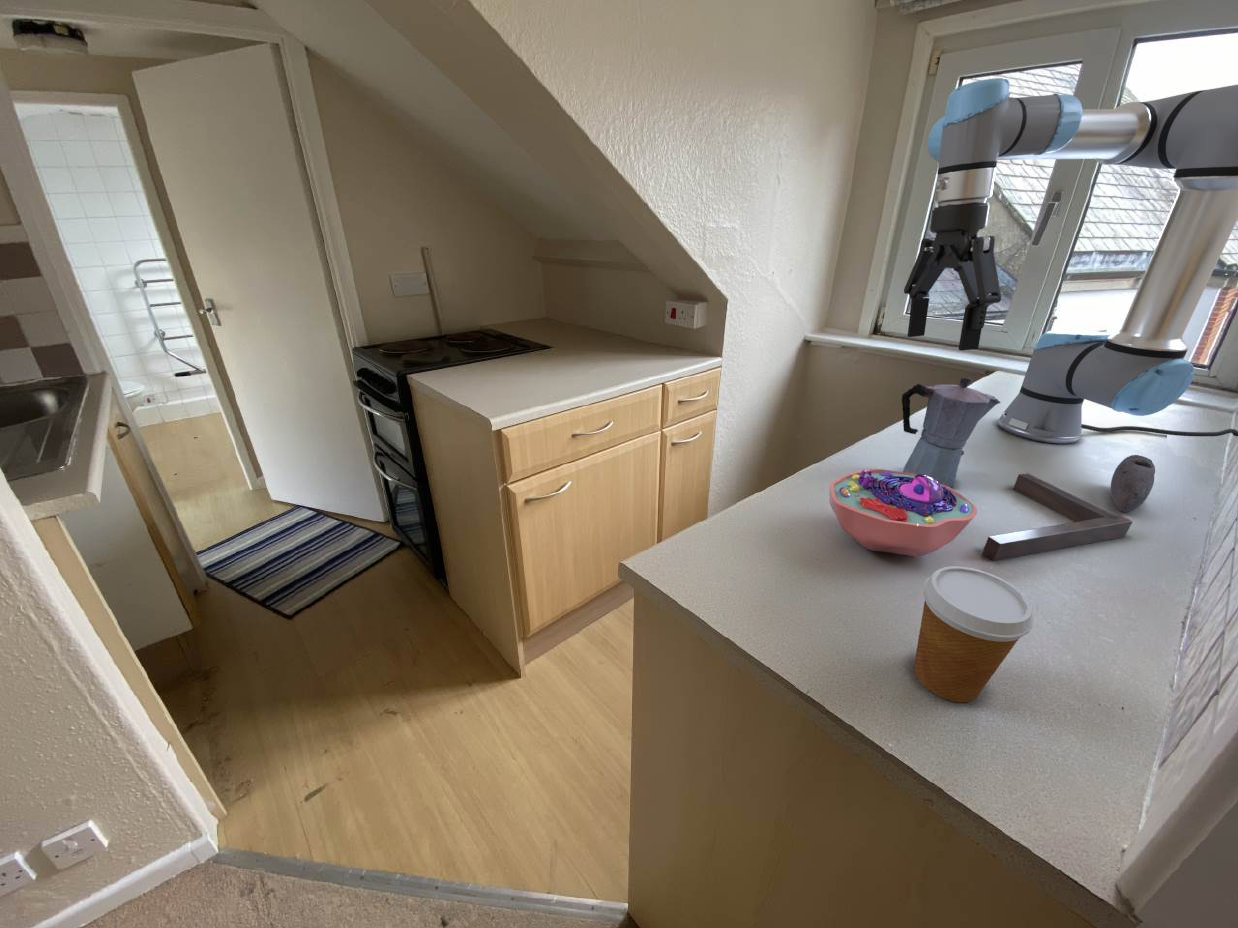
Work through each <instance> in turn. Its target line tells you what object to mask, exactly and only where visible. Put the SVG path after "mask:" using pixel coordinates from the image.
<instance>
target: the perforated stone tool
mask: <svg viewBox="0 0 1238 928" xmlns="http://www.w3.org/2000/svg"><path fill="white" fill-rule="evenodd" d="M1155 474H1156V467H1155V465H1154V463H1153V460H1152V459H1150V458H1149V457H1146V456H1143V455H1139V454H1132V455H1129V456H1127V457H1125V458H1124V459H1123V460H1122V461H1121V462H1119V464H1117V467H1116V468H1115V470H1114V471H1113V474H1112V476H1111V480H1110V494H1111V499H1112V501H1113V504H1114V506H1115V508H1116V509H1117V510H1119V511H1121V512H1126V513H1127V512H1132V511H1134V510H1136V509H1138V508H1139V507H1141V506H1142V505H1143V504H1144V503H1145V502H1146V500H1147V499H1148V497H1149V495H1150V494H1151V492H1152V489H1153V486H1154V484H1155Z"/></svg>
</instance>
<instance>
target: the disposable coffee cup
mask: <svg viewBox="0 0 1238 928" xmlns="http://www.w3.org/2000/svg"><path fill="white" fill-rule="evenodd" d="M922 593H923V599H924V602H923V607H922V615H921V621H920V627H919V633H918V639H917V645H916V652H915V659H914V664H913V671H914V674H915V676H916V678H917V680H918V681H919V682H920V684H922V686H924V687H925V688H926V689H927V690H928V691H930V692H931V693H933V694H934V695H936V696H937V697H940V698H942V699H944V700H948V701H950V702H955V703H970V702H972V701H974V700H976V699H977V698H978V697H979V694H980V693H981V692H982V691H983V689H984V688H985V686H986V685H987V684H988V683H989V681H990V680H991V678H993V676H994V674H995V673H996V671H997V670H998V669H999V667H1001V664H1002V663H1003V662H1004V660H1005V659H1006V657H1007V656H1008V655H1009V654H1010V652H1011V650H1012V649H1013V647H1014V646H1015V645H1016V643H1017V642H1018V641H1019V640H1020V639H1021V638H1022V637H1024V636H1026V635H1028V634H1029V633H1030V632H1031V630H1032V629H1033V628H1034V617H1033V606H1032V604H1031V602H1030V600H1029V599H1028V597H1027V596H1026V595H1025V594H1024V593H1023V592H1022V591H1021V590H1019V588H1018V587H1016V586H1015V585H1013V584H1012V583H1010V582H1008V581H1006V580H1005V579H1003V578H1001V577H999V576H998V575H994V574H993V573H990V572H987V571H983V570H981V569H977V568H973V567H969V566H968V567H967V566H956V565H952V566H944V567H942V568H939V569H936V570H935V572H934V573H933V574H932V575H931V576H929V577H927V578H926V579H925V581H924V582H923V585H922Z"/></svg>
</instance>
